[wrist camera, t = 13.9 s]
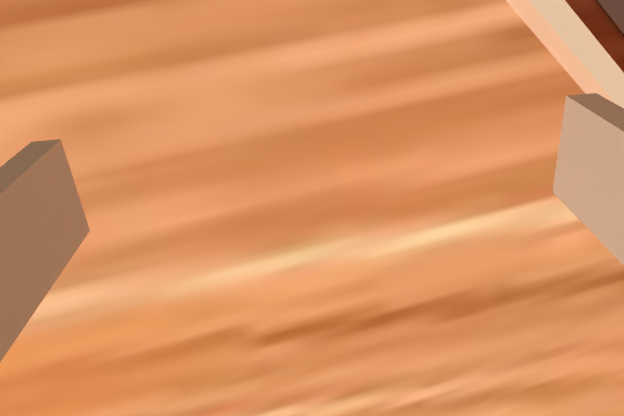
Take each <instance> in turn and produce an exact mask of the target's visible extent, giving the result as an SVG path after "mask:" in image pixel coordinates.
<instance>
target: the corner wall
mask: <svg viewBox="0 0 624 416" xmlns="http://www.w3.org/2000/svg"><path fill="white" fill-rule="evenodd" d="M506 1H507V2H508V4H509V5H510V6H511V7H512V8H513V9H514V11H515V12H516V13H517V14H518V15H519V16H520V18H521V19H522V20H523V21H524V22H525V23H526V25H527V26H528V27H529V28H530V29H531V30H532V32H533V33H534V34H535V35H536V36H537V37H538V39H539V40H540V41H541V42H542V43H543V44H544V46H545V47H546V48H547V49H548V50H549V51H550V53H551V54H552V55H553V56H554V57H555V58H556V60H557V61H558V62H559V63H560V64H561V65H562V67H563V68H564V69H565V70H566V71H567V72H568V74H569V75H570V76H571V77H572V78H573V79H574V81H575V82H576V83H577V84H578V85H579V86H580V88H581V89H582V90H583V91H584V92H585V93H586V94H592V93H597V94H599V95H601V96H602V97H604V98H606V99H608V100H610V101H611V102H613V103H615V104H617V105H619V106H620V107H622V108H624V73H623V71H622V70H621V69H620V68H619V66H618V65H617V64H616V63H615V61H614V60H613V59H612V58H611V56H610V55H609V54H608V53H607V52H606V50H605V49H604V48H603V47H602V45H601V44H600V43H599V42H598V40H597V39H596V38H595V37H594V35H593V34H592V33H591V32H590V31H589V29H588V28H587V27H586V26H585V24H584V23H583V22H582V21H581V19H580V18H579V17H578V16H577V14H576V13H575V12H574V11H573V9H572V8H571V7H570V6H569V5H568V3H567V2H566V1H565V0H506Z"/></svg>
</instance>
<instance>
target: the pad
mask: <svg viewBox="0 0 624 416" xmlns="http://www.w3.org/2000/svg"><path fill="white" fill-rule="evenodd" d="M597 2H598V3H599V4H600V6H601V7H602V8H603V9H604V11H605V12H606V13H607V15H608V16H609V17H610V18H611V20H612V21H613V22H614V23H615V25H616V26H617V27H618V29H619V30H620V31H621V32H622V34H623V35H624V0H597Z"/></svg>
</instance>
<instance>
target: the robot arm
mask: <svg viewBox="0 0 624 416" xmlns="http://www.w3.org/2000/svg"><path fill="white" fill-rule="evenodd" d="M553 193H554V194H555V195H556V196H557V197H558V198H559V199H560V200H561V201H562V202H563V203H564V204H565V205H566V206H567V207H568V208H569V209H570V210H571V212H572V213H573V214H574V215H575V216H576V217H577V218H578V219H579V220H580V221H581V222H582V223H583V224H584V225H585V226H586V227H587V228H588V229H589V230H590V231H591V232H592V233H593V234H594V235H595V236H596V237H597V239H598V240H599V241H600V242H601V243H602V244H603V245H604V246H605V247H606V248H607V249H608V250H609V251H610V252H611V253H612V254H613V255H614V256H615V257H616V258H617V259H618V260H619V261H620V262H621V263H622V264H623V265H624V108H622V107H620V106H619V105H617V104H615V103H613V102H611V101H610V100H608V99H606V98H604V97H602V96H601V95H599V94H597V93H592V94H581V95H569V96H566V102H565V109H564V116H563V123H562V130H561V137H560V144H559V151H558V158H557V164H556V171H555V178H554V185H553ZM89 231H90V230H89V227H88V223H87V220H86V217H85V214H84V211H83V208H82V205H81V201H80V198H79V195H78V192H77V189H76V186H75V183H74V179H73V176H72V173H71V170H70V167H69V164H68V161H67V158H66V154H65V151H64V148H63V145H62V142H61V139H60V140H48V141H37V142H31V143H30V144H29V145H27V146H26V147H25V148H24V149H22V150H21V151H20V152H19V153H17V154H16V155H15V156H14V157H13V158H11V159H10V160H9V161H8V162H6V163H5V164H4V165H3V166H1V167H0V362H1V360H2V359H3V357H4V356H5V354H6V353H7V351H8V350H9V349H10V347H11V346H12V344H13V343H14V341H15V340H16V338H17V337H18V335H19V334H20V332H21V331H22V329H23V328H24V326H25V325H26V324H27V322H28V321H29V319H30V318H31V316H32V315H33V313H34V312H35V310H36V309H37V307H38V306H39V304H40V303H41V302H42V300H43V299H44V297H45V296H46V294H47V293H48V291H49V290H50V288H51V287H52V285H53V284H54V282H55V281H56V279H57V278H58V277H59V275H60V274H61V272H62V271H63V269H64V268H65V266H66V265H67V263H68V262H69V260H70V259H71V257H72V256H73V254H74V253H75V252H76V250H77V249H78V247H79V246H80V244H81V243H82V241H83V240H84V238H85V237H86V235H87V234H88V232H89Z"/></svg>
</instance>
